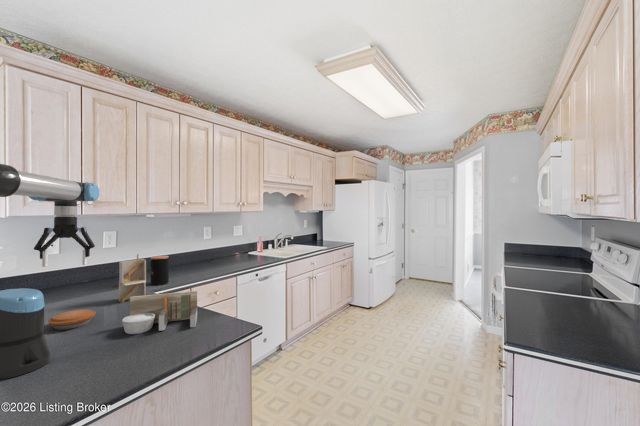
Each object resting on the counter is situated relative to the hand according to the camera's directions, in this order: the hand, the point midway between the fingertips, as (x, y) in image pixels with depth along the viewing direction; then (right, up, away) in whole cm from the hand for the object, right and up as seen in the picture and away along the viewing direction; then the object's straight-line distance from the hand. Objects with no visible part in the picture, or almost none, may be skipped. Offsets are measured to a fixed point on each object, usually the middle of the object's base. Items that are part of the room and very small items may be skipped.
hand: (65, 265), depth 126 cm
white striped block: (+56, -25, 0) cm, 61 cm away
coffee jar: (+3, -25, +69) cm, 73 cm away
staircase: (+8, -25, +33) cm, 42 cm away
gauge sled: (+45, -25, -4) cm, 51 cm away
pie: (+5, -25, -2) cm, 26 cm away
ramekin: (+36, -25, -7) cm, 45 cm away
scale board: (+42, -25, +1) cm, 49 cm away
